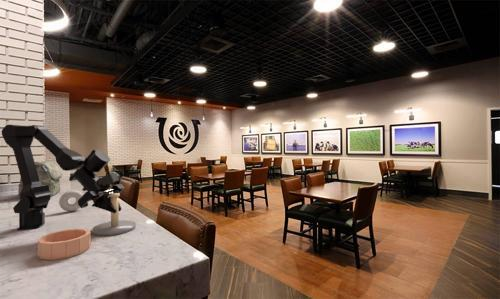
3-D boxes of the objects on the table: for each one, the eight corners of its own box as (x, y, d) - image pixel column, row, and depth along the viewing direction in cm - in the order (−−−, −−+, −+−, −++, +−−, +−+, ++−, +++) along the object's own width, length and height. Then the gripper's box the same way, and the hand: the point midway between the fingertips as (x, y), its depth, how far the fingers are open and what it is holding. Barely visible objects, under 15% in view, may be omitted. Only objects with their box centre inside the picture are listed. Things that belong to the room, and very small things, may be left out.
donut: (59, 213, 114) (59, 192, 114) (58, 212, 117) (58, 191, 117) (85, 210, 121) (85, 189, 121) (83, 208, 124) (83, 188, 124)
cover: (88, 238, 83) (88, 199, 83) (96, 225, 96) (96, 192, 96) (134, 232, 89) (134, 195, 89) (136, 221, 102) (136, 189, 101)
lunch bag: (53, 197, 152) (53, 161, 152) (14, 200, 145) (14, 162, 144) (64, 190, 176) (63, 159, 176) (31, 192, 168) (30, 160, 168)
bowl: (33, 252, 72) (33, 236, 72) (81, 240, 82) (80, 226, 81) (46, 264, 65) (45, 246, 65) (96, 249, 74) (96, 234, 74)
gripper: (85, 167, 83) (117, 201, 82) (119, 164, 102) (145, 191, 101) (63, 191, 84) (94, 224, 83) (101, 183, 103) (127, 210, 102)
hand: (118, 211), depth 92 cm, fingers closed on cover, 2 cm apart
